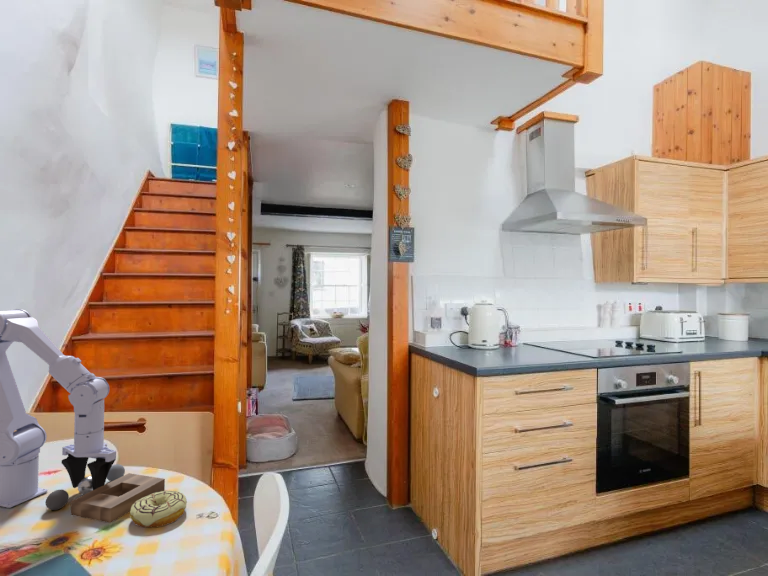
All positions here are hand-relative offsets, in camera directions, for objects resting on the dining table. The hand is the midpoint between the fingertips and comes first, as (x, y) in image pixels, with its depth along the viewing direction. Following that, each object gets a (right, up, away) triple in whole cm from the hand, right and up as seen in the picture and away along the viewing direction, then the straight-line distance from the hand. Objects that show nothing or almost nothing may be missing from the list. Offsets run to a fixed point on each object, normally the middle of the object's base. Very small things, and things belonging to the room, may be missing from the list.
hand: (88, 487), depth 95 cm
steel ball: (0, +1, 0) cm, 1 cm away
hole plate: (+10, -1, -4) cm, 11 cm away
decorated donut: (+22, -2, -10) cm, 24 cm away
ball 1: (-2, +1, -7) cm, 7 cm away
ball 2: (+2, 0, +7) cm, 7 cm away
